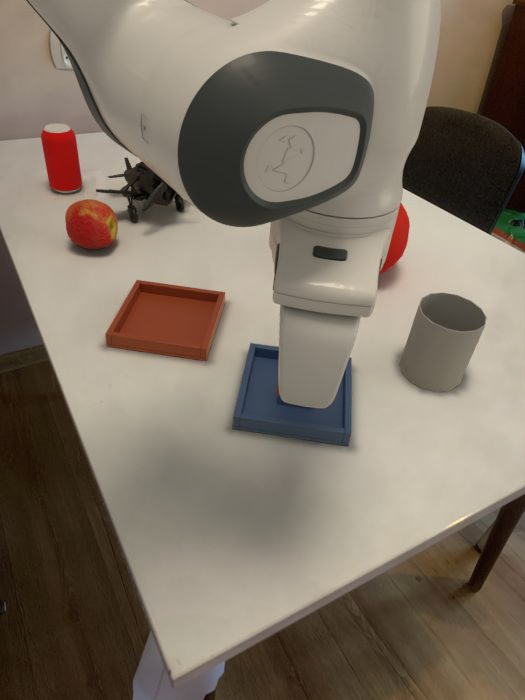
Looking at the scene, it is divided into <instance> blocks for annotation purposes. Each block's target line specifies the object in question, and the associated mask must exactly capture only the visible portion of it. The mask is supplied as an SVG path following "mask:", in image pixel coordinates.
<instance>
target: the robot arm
mask: <svg viewBox="0 0 525 700" xmlns="http://www.w3.org/2000/svg"><path fill="white" fill-rule="evenodd" d="M25 1H26V2H27V4H28V5H29V6H30V7H31V8H32V9H33V10H34V11H35V13H36V14H37V15H38V16H39V17H40V18H41V20H42V21H43V22H44V23H45V25H46V26H47V27H48V28H49V29H50V30H51V32H52V33H53V34H54V36H55V37H56V39H57V40H58V41H59V43H60V44H61V46H62V48H63V50H64V52H65V54H66V56H67V58H68V60H69V62H70V65H71V68H72V70H73V72H74V75H75V77H76V80H77V83H78V85H79V89H80V91H81V94H82V96H83V98H84V101H85V104H86V106H87V108H88V110H89V112H90V114H91V116H92V118H93V119H94V120H95V122H96V124H97V125H98V127H99V128H100V129H101V130H102V131H103V133H104V134H105V135H106V136H107V137H108V138H109V139H110V140H111V141H113V142H114V143H115V144H117V145H118V146H119V147H121V148H123V149H124V150H125V151H127V152H128V153H130V154H132V155H133V156H134V157H136V158H138V159H139V160H140V162H143V163H144V164H146V165H147V166H148V167H149V168H150V169H151V170H152V171H153V172H154V173H156V174H157V175H158V176H159V177H160V178H161V179H162V180H163V181H165V182H166V183H167V184H168V185H169V186H170V187H172V188H173V189H174V190H175V191H176V192H177V193H178V194H179V195H180V196H181V197H182V198H183V200H184V201H187V202H188V203H189V205H191V206H193V207H194V208H195V209H196V210H198V211H199V212H200V213H202V214H204V216H206V217H207V218H209V219H210V220H213V221H215V222H216V223H218V224H221V225H224V226H228V227H233V228H234V227H235V228H251V227H257V226H258V227H259V226H262V225H265V224H270V226H269V227H270V228H269V236H268V245H269V249H270V251H271V256H272V261H273V265H274V266H273V270H274V271H273V273H274V274H273V282H272V301H273V303H274V304H277V305H279V324H278V325H279V327H278V328H279V329H278V336H279V337H278V347H279V370H278V385H279V394H280V397H281V399H282V400H283V401H284V402H286V403H289V404H294V405H299V406H304V407H312V408H326V407H328V406H329V405H330V404H331V403H332V402H333V400H334V398H335V396H336V394H337V391H338V388H339V385H340V383H341V380H342V377H343V374H344V372H345V369H346V366H347V363H348V360H349V357H351V354H352V351H353V348H354V344H355V341H356V338H357V334H358V331H359V328H360V327H359V326H360V322H361V319H362V318H369V317H371V316H372V314H373V311H374V308H375V305H376V300H377V296H378V292H379V286H380V279H381V278H380V276H381V274H380V271H381V269H382V267H383V264H384V262H385V260H386V257H387V253H388V249H389V245H390V241H391V238H392V234H393V230H394V227H395V223H396V219H397V215H398V212H399V207H400V203H402V199H403V194H404V187H403V174H404V169H405V164H406V162H407V160H408V157H409V155H410V153H411V151H412V150H413V148H414V147H415V145H416V143H417V140H418V139H419V135H420V131H421V128H422V125H423V120H424V116H425V113H426V109H427V105H428V101H429V98H430V93H431V87H432V83H433V79H434V74H435V68H436V63H437V57H438V50H439V43H440V34H441V23H442V3H441V2H442V1H441V0H267V1H266V2H264V3H261V5H259V6H257V7H255V8H253V9H251V10H250V11H248V12H245V13H243V14H240V15H237V16H234V17H231V19H230V20H229V19H226V18H223V17H221V16H218V15H216V14H213V13H211V12H208V11H206V10H204V9H201V8H199V7H198V6H196V5H195V4H193V3H191V2H190V1H188V0H25Z"/></svg>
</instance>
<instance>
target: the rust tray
mask: <svg viewBox="0 0 525 700" xmlns="http://www.w3.org/2000/svg"><path fill="white" fill-rule="evenodd" d="M225 304H226V291H219V290H213V289H205V288H198V287H190V286H184V285H177V284H170V283H162V282H156V281H149V280H141V279H136V280H135V282H134V284H133V285H132V287H131V289H130V290H129V292H128V294H127V296H126V297H125V299H124V301H123V303H122V304H121V307H120V308H119V310H118V311H117V313H116V315H115V317H114V319H113V320H112V322H111V324H110V325H109V327H108V329H107V330H106V332H105V334H104V335H105V336H104V337H105V342H106V346H107V347H108V348H115V349H123V350H130V351H136V352H143V353H149V354H155V355H163V356H170V357H177V358H184V359H190V360H197V361H203V362H204V361H205V362H206V361H208V357H209V354H210V352H211V348H212V345H213V342H214V339H215V335H216V332H217V329H218V326H219V323H220V320H221V317H222V313H223V310H224V307H225Z"/></svg>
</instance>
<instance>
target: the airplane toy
mask: <svg viewBox="0 0 525 700" xmlns="http://www.w3.org/2000/svg"><path fill="white" fill-rule="evenodd" d="M123 159H124V163H125V167H126V169H125V170H124V171H123V173H118V174H113V175H107V178H109V179H116V178H124V180H125V182H126V183H127V184H126V185H123V187H121V188H120V189H111V188H109V189H101V188H96V189H95V192H96V193H99V194H100V193H101V194H115V195H121V196H122V197H123V198H127V201H128V204H127V207H126V208H127V214H128V216H129V219H130V221H132V222H133V223H134V222H137V221H138V220H139V215H138V209H137V207H136V206H135V205H134V201H141V202H144V201H145V202H144V203H143V205H142V207H141V210H140V211H141V213H145V212H146V211H148V210H149V209H150V208H151V207H152V206H153V205H158V206H165V207H169V206H170V205H171V204H172V203H173V202H174V205H175V208H176V210H177V211H178V212H183V211H184V210H185V199H184V198H183V197H182V196H181V195H179V194H178V193H177V192H176V191H175V190H174V189H173V188H172V187H170V186H169V185H168V184H167V183H166V182H165V181H163V180H162V179H161V178H160V177H159V176H158V175H157V174H156V173H154V172H153V171H152V170H151V169H150V168H149V167H148V166H147V165H146V164H144V163H143V162H142V161H140V162H138V163H135V165H134V166H132V163H131V162H130V159H129V158H128V157H124V158H123Z"/></svg>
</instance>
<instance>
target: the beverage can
mask: <svg viewBox="0 0 525 700" xmlns="http://www.w3.org/2000/svg"><path fill="white" fill-rule="evenodd" d="M40 140H41V146H42V153H43V158H44V162H45V169H46V173H47V179H48V185H49V187H50V188H51V189H52V190H53V191H55V192H58V193H59V194H72V193H75V192H77V191H79V190H80V189H81V188H82V187H83V178H82V171H81V165H80V157H79V150H78V142H77V136H76V133H75V131H74V130H73V129H72V128H71V126H70V125H67V124H65V123H56V122H55V123H49V124H46V125H44V126H43V128H42V130H41V134H40Z"/></svg>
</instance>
